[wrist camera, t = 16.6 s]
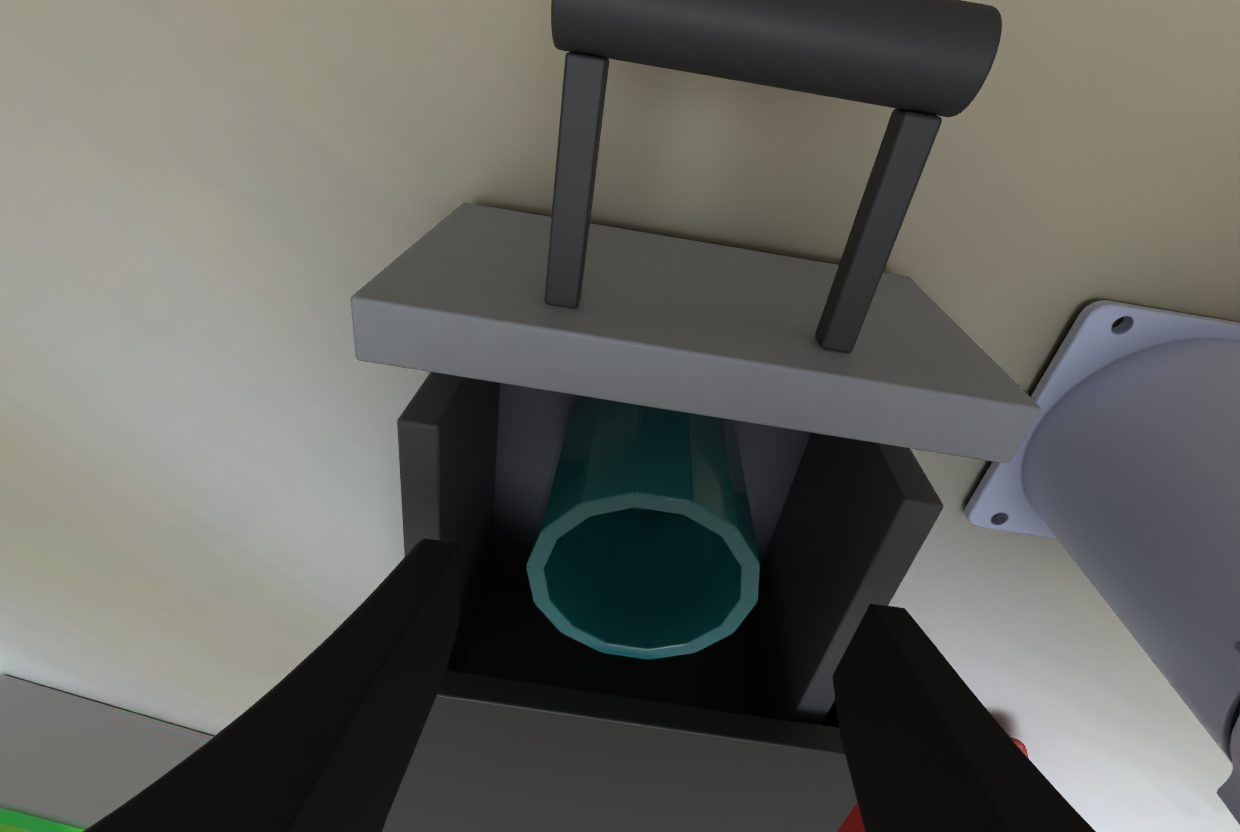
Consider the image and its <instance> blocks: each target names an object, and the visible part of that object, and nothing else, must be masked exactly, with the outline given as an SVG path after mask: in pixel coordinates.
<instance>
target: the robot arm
mask: <svg viewBox="0 0 1240 832" xmlns="http://www.w3.org/2000/svg"><path fill="white" fill-rule="evenodd" d="M1121 317H1124V319H1123V321H1122V322H1121V323H1120V324H1119V325H1118V326H1116V327H1114V328H1112V324H1113V323H1114V322H1115V321H1116V320H1117V319H1119V318H1121ZM1030 398H1031V399H1032V400H1033V401H1034V402H1035V403H1036V404H1037V405H1039V406H1040V407H1041V413H1040V414H1039V416H1038V418H1037V419H1036V421H1035V423H1034V424H1033V426H1032V427H1031V429H1030V431H1029V432H1028V434H1027V436H1026V437H1025V439H1024V441H1023V442H1022V444H1021V446H1020V447H1019V449H1018V450H1017V452H1016V454H1015V455H1014V457H1013V459H1012V460H1011V462H1010V463H1007V464H1006V463H1000V462H994V461H993V462H992V463H991V465H990V467H989V468H988V470H987V472H986V473H985V475H984V477H983V479H982V480H981V482H980V484H979V485H978V487H977V489H976V490H975V492H974V494H973V496H972V497H971V499H970V501H969V502H968V504H967V506H966V508H965V511H964V513H965V516H966V518H967V520H968V521H969V522H970V523H971V524H972V525H974V526H977V527H982V528H989V529H995V530H1001V531H1008V532H1014V533H1021V534H1027V535H1033V536H1040V537H1046V538H1052V539H1058V540H1059V542H1060V543H1061V544H1062V546H1063V547H1064V548H1065V549H1066V551H1067V552H1068V553H1069V555H1070V556H1071V557H1072V558H1073V560H1074V561H1075V562H1076V563H1077V565H1078V566H1079V567H1080V569H1081V570H1082V571H1083V572H1084V574H1085V575H1086V576H1087V578H1088V579H1089V580H1090V581H1091V583H1092V584H1093V585H1094V587H1095V588H1096V589H1097V590H1098V592H1099V593H1100V594H1101V596H1102V597H1103V598H1104V599H1105V601H1106V602H1107V603H1108V605H1109V606H1110V607H1111V608H1112V610H1113V611H1114V612H1115V614H1116V615H1117V616H1118V617H1119V619H1120V620H1121V621H1122V623H1123V624H1124V625H1125V626H1126V628H1127V629H1128V630H1129V632H1130V633H1131V634H1132V635H1133V637H1134V638H1135V639H1136V641H1137V642H1138V643H1139V644H1140V646H1141V647H1142V648H1143V650H1144V651H1145V652H1146V653H1147V655H1148V656H1149V657H1150V659H1151V660H1152V661H1153V662H1154V664H1155V665H1156V666H1157V668H1158V669H1159V670H1160V671H1161V673H1162V674H1163V675H1164V677H1165V678H1166V679H1167V680H1168V682H1169V683H1170V684H1171V686H1172V687H1173V688H1174V689H1175V691H1176V692H1177V693H1178V695H1179V696H1180V697H1181V698H1182V700H1183V701H1184V702H1185V704H1186V705H1187V706H1188V707H1189V709H1190V710H1191V711H1192V713H1193V714H1194V715H1195V716H1196V718H1197V719H1198V720H1199V722H1200V723H1201V724H1202V725H1203V727H1204V728H1205V729H1206V731H1207V732H1208V733H1209V734H1210V736H1211V737H1212V738H1213V740H1214V741H1215V742H1216V743H1217V745H1218V746H1219V747H1220V749H1221V750H1222V751H1223V752H1224V754H1225V755H1226V756H1227V758H1228V759H1229V760H1230V761H1231V763H1232V764H1233V771H1232V774H1231V775H1230V777H1229V778H1228V780H1227V781H1226V782H1225V783H1224V784H1223V785H1222V786H1221V787H1220V788H1219V789H1218V791H1217V794H1218V796H1219V797H1220V798H1221V800H1222V801H1223V802H1224V804H1225V805H1226V807H1227V808H1228V809H1229V811H1230V812H1231V813H1232V815H1233V816H1234V818H1235V819H1236V820H1237V822H1238V823H1239V824H1240V323H1239V322H1233V321H1227V320H1222V319H1216V318H1210V317H1204V316H1198V315H1192V314H1186V313H1180V312H1174V311H1168V310H1162V309H1156V308H1150V307H1144V306H1138V305H1132V304H1126V303H1120V302H1114V301H1108V300H1102V301H1097V302H1094V303H1091V304H1090V305H1088V306H1087V307H1085V308H1084V309H1083V310H1082V312H1081V313H1080V314H1079V315H1078V317H1077V319H1076V321H1075V322H1074V324H1073V326H1072V327H1071V329H1070V331H1069V332H1068V334H1067V336H1066V338H1065V339H1064V341H1063V343H1062V344H1061V346H1060V348H1059V349H1058V351H1057V353H1056V355H1055V356H1054V358H1053V360H1052V361H1051V363H1050V365H1049V366H1048V368H1047V370H1046V372H1045V373H1044V375H1043V377H1042V378H1041V380H1040V382H1039V383H1038V385H1037V387H1036V389H1035V390H1034V392H1033V394H1032V395H1031V397H1030ZM997 513H1000V514H999V515H998V516H995V517H993V516H994V515H995V514H997ZM458 626H459V543H453V542H446V541H439V540H433V539H426V538H424V539H422V540H420V541H419V542H417V544H416V545H415V546H414V547H413V548H412V550H411V551H410V552H409V553H408V554H407V555H406V556H405V558H404V559H403V560H402V561H401V562H400V563H399V564H398V566H397V567H396V568H395V569H394V570H393V571H392V572H391V573H390V574H389V576H388V577H387V578H386V579H385V580H384V581H383V582H382V583H381V584H380V585H379V586H378V587H377V588H376V590H375V591H374V592H373V593H372V594H371V595H370V596H369V597H368V598H367V599H366V600H365V601H364V602H363V603H362V604H361V605H360V606H359V607H358V608H357V609H356V610H355V611H354V612H353V613H352V614H351V615H350V616H349V617H348V618H347V619H346V620H345V621H344V622H343V623H342V624H341V625H340V626H339V627H338V628H337V629H336V630H335V631H334V632H333V633H332V634H331V635H330V636H329V637H328V638H327V639H326V640H325V641H324V642H323V643H322V644H321V645H320V646H319V647H318V648H317V649H315V650H314V651H313V652H312V653H311V654H310V655H309V656H308V657H307V658H306V659H305V660H303V661H302V662H301V663H300V664H299V665H298V666H297V667H296V668H295V669H294V670H293V671H291V672H290V673H289V674H288V675H287V676H286V677H285V678H284V679H283V680H282V681H281V682H279V683H278V684H277V685H276V686H275V687H274V688H273V689H271V690H270V691H269V692H268V693H267V694H266V695H264V696H263V697H262V698H261V699H260V700H259V701H257V702H256V703H255V704H254V705H253V706H251V707H250V708H249V709H248V710H247V711H245V712H244V713H243V714H242V715H241V716H239V717H238V718H237V719H236V720H234V721H233V722H232V723H231V724H229V725H228V726H227V727H226V728H224V729H223V730H222V731H221V732H219V733H218V734H217V735H216V736H214V737H213V738H212V739H211V740H209V741H208V742H207V743H206V744H204V745H203V746H202V747H200V748H199V749H198V750H196V751H195V752H194V753H192V754H191V755H190V756H188V757H187V758H186V759H184V760H183V761H182V762H180V763H179V764H178V765H176V766H175V767H174V768H172V769H171V770H170V771H168V772H167V773H166V774H164V775H163V776H162V777H160V778H159V779H158V780H156V781H155V782H154V783H152V784H151V785H149V786H148V787H147V788H145V789H144V790H142V791H141V792H140V793H138V794H137V795H136V796H134V797H133V798H131V799H130V800H128V801H127V802H126V803H124V804H123V805H121V806H120V807H119V808H117V809H116V810H114V811H113V812H111V813H110V814H108V815H107V816H105V817H104V818H102V819H101V820H99V821H98V822H96V823H95V824H93V825H92V826H90V827H89V828H87V829H86V830H84V831H83V832H382V830H383V828H384V825H385V822H386V819H387V817H388V814H389V811H390V809H391V807H392V804H393V802H394V799H395V797H396V794H397V792H398V789H399V787H400V785H401V782H402V780H403V777H404V775H405V772H406V770H407V767H408V765H409V762H410V760H411V758H412V755H413V753H414V750H415V748H416V745H417V743H418V740H419V738H420V735H421V733H422V731H423V728H424V726H425V723H426V721H427V718H428V716H429V713H430V711H431V708H432V706H433V703H434V701H435V698H436V696H437V693H438V691H439V688H440V686H441V683H442V681H443V678H444V674H445V671H446V668H447V664H448V661H449V657H450V654H451V651H452V647H453V643H454V640H455V636H456V633H457V629H458ZM832 677H833V685H834V693H835V701H836V709H837V716H838V722H839V729H840V736H841V740H842V744H843V748H844V752H845V756H846V760H847V764H848V768H849V772H850V775H851V779H852V783H853V787H854V791H855V795H856V798H857V802H858V806H859V810H860V813H861V817H862V821H863V825H864V829H865V832H1096V831H1095V830H1094V829H1093V828H1092V827H1091V826H1090V825H1089V824H1088V823H1087V822H1086V821H1085V820H1084V819H1083V818H1082V817H1081V816H1080V815H1079V814H1078V813H1077V812H1076V811H1075V810H1074V808H1073V807H1072V806H1071V805H1070V804H1069V803H1068V802H1067V801H1066V800H1065V799H1064V798H1063V797H1062V795H1061V794H1060V793H1059V792H1058V791H1057V790H1056V789H1055V788H1054V787H1053V785H1052V784H1051V783H1050V782H1049V781H1048V780H1047V779H1046V778H1045V777H1044V776H1043V774H1042V773H1041V772H1040V771H1039V770H1038V769H1037V768H1036V767H1035V766H1034V764H1033V763H1032V762H1031V761H1030V760H1029V759H1028V758H1027V756H1026V755H1025V754H1024V753H1023V752H1022V751H1021V750H1020V748H1019V747H1018V746H1017V745H1016V744H1015V743H1014V742H1013V740H1012V739H1011V738H1010V737H1009V736H1008V734H1007V733H1006V732H1005V731H1004V730H1003V729H1002V727H1001V726H1000V725H999V724H998V723H997V721H996V720H995V719H994V718H993V717H992V715H991V714H990V713H989V712H988V711H987V709H986V708H985V707H984V706H983V705H982V703H981V702H980V701H979V700H978V699H977V697H976V696H975V695H974V694H973V692H972V691H971V690H970V689H969V687H968V686H967V685H966V684H965V683H964V681H963V680H962V679H961V678H960V676H959V675H958V674H957V673H956V671H955V670H954V669H953V668H952V666H951V665H950V664H949V663H948V661H947V660H946V659H945V658H944V656H943V655H942V654H941V653H940V651H939V650H938V649H937V648H936V646H935V645H934V644H933V643H932V641H931V640H930V639H929V638H928V636H927V635H926V634H925V633H924V631H923V630H922V629H921V628H920V626H919V625H918V624H917V623H916V622H915V620H914V619H913V618H912V617H911V616H910V614H909V613H908V612H907V611H906V610H905V608H898V607H891V606H884V605H877V604H870V605H869V607H868V609H867V610H866V612H865V614H864V616H863V618H862V620H861V622H860V624H859V626H858V628H857V630H856V632H855V633H854V635H853V637H852V639H851V641H850V643H849V645H848V647H847V649H846V651H845V653H844V654H843V656H842V658H841V660H840V662H839V664H838V666H837V668H836V670H835V672H834V674H833V676H832Z"/></svg>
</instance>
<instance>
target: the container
mask: <svg viewBox="0 0 1240 832" xmlns="http://www.w3.org/2000/svg"><path fill="white" fill-rule="evenodd" d="M526 570H527V574H528V579H529V584H530V588H531V593H532V597H533V601H534V603H535V605H536V606H537V607H538V608H539V609H540V610H541V612H542V613H543V614H544V615H545V616H546V617H547V618H548V619H549V620H550V621H551V623H552V624H553V625H554V626H555V627H556V628H557V629H558V630H559V631H560V632H562V634H564V635H566V636H568V637H570V638H572V639H574V640H576V641H578V642H580V643H582V644H584V645H586V646H588V647H591V648H593V649H595V650H597V651H599V652H602V653H606V654H612V655H619V656H626V657H633V658H639V659H646V660H647V659H650V660H651V659H658V658H665V657H672V656H679V655H686V654H693V653H694V652H698V651H700V650H702V649H704V648H706V647H708V646H710V645H712V644H714V643H716V642H718V641H720V640H722V639H724V638H725V637H727V636H729V635H731V634H733V632H735V631H736V630H737V628H738V627H739V626H740V624H741V623H742V622H743V621H744V619H745V618H746V617H747V615H748V614H749V613H750V611H751V610H752V609H753V607H754V606H755V605H756V603H757V601H758V594H759V576H760V561H759V555H758V550H757V544H756V539H755V533H754V528H753V522H752V516H751V511H750V505H749V500H748V494H747V489H746V483H745V478H744V472H743V466H742V461H741V455H740V450H739V444H738V439H737V434H736V433H735V431H734V427H733V424H732V420H730V419H724V418H718V417H711V416H705V415H699V414H693V413H686V412H680V411H674V410H667V409H661V408H655V407H649V406H642V405H636V404H630V403H624V402H617V401H611V400H605V399H599V398H592V397H586V396H580V395H579V396H578V398H577V399H576V400H575V402H574V403H573V405H572V406H571V408H570V410H569V412H568V415H567V417H566V420H565V424H564V428H563V431H562V433H561V436H560V438H559V441H558V445H557V449H556V452H555V456H554V460H553V464H552V468H551V471H550V475H549V479H548V483H547V487H546V491H545V494H544V498H543V502H542V506H541V510H540V513H539V517H538V521H537V525H536V529H535V532H534V536H533V540H532V544H531V548H530V552H529V555H528V559H527V563H526Z"/></svg>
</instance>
